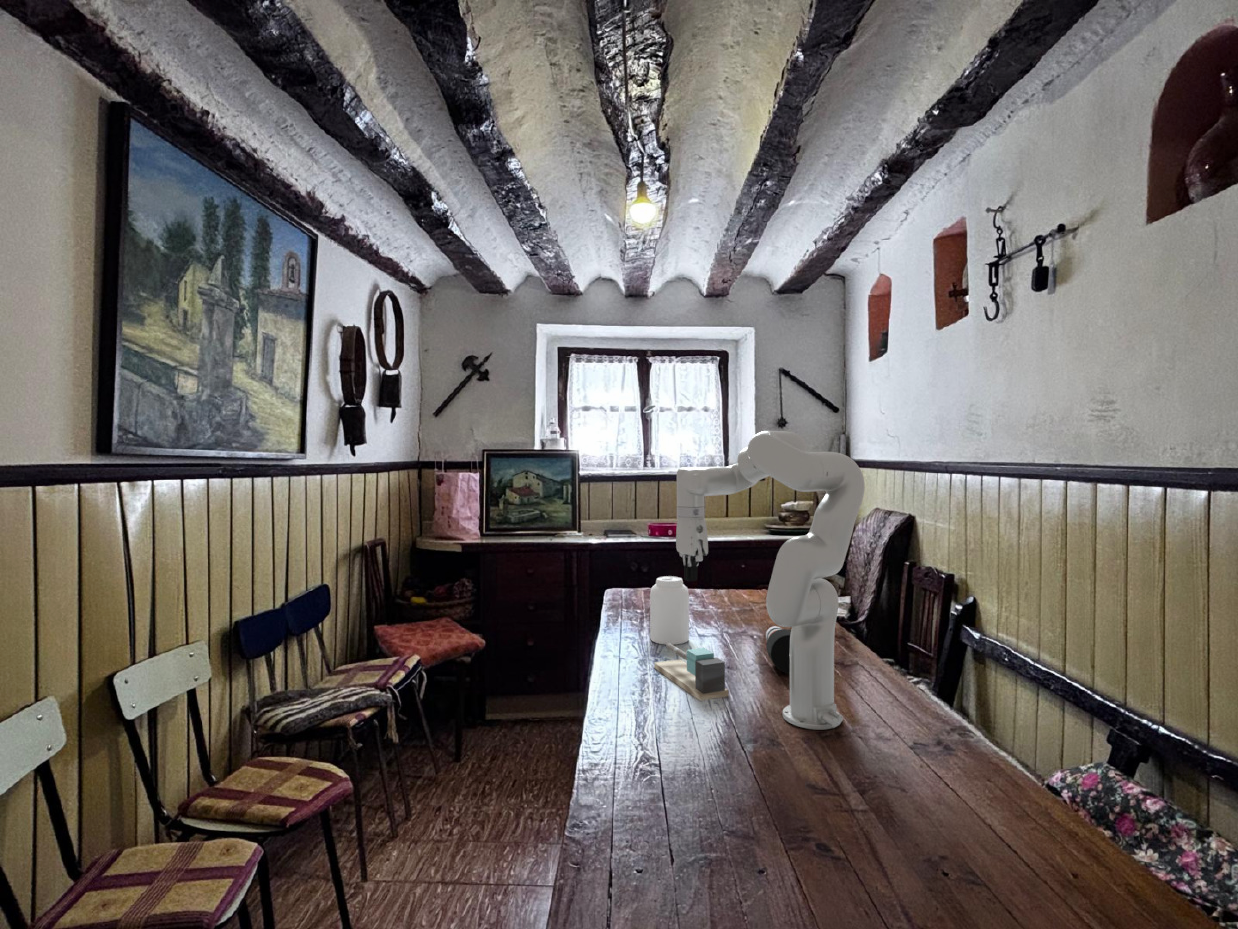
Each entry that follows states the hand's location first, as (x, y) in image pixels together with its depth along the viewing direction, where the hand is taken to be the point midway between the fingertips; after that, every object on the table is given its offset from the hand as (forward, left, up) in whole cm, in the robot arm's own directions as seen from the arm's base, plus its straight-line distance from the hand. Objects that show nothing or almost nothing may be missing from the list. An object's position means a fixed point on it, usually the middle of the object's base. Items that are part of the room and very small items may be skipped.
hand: (690, 580), depth 176 cm
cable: (+2, -31, -26) cm, 40 cm away
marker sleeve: (-12, +4, -21) cm, 24 cm away
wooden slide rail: (-6, +4, -25) cm, 26 cm away
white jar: (+31, -8, -26) cm, 41 cm away
